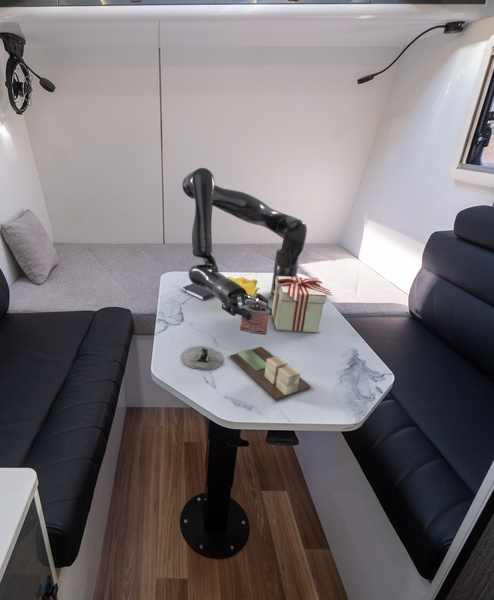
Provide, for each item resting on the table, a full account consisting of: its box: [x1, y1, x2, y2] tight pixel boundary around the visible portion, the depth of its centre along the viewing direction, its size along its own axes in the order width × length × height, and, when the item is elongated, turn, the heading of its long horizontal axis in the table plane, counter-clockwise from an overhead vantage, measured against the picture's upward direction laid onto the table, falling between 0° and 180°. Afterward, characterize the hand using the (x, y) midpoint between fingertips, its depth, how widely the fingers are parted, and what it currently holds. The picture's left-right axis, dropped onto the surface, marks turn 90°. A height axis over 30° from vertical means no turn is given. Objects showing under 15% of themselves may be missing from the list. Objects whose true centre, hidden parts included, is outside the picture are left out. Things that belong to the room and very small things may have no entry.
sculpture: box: [182, 346, 224, 371], centre depth 115 cm, size 12×9×8 cm
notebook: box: [182, 283, 216, 301], centre depth 162 cm, size 13×2×21 cm
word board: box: [229, 346, 312, 401], centre depth 108 cm, size 12×22×7 cm, turn 26°
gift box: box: [271, 276, 333, 334], centre depth 132 cm, size 17×18×17 cm
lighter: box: [239, 299, 270, 336], centre depth 108 cm, size 8×3×10 cm, turn 70°
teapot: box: [227, 276, 261, 296], centre depth 149 cm, size 14×13×10 cm
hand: (260, 315), depth 106 cm, fingers closed on lighter, 6 cm apart
